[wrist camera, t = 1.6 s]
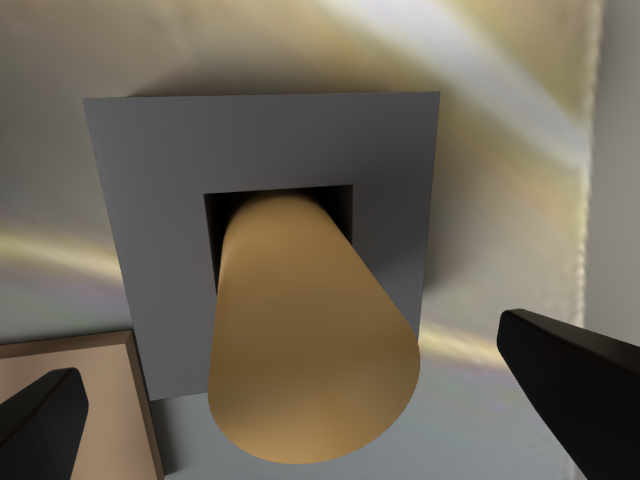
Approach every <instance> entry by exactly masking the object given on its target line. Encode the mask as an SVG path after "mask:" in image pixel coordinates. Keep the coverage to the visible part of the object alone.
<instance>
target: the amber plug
mask: <svg viewBox="0 0 640 480" xmlns="http://www.w3.org/2000/svg"><path fill="white" fill-rule="evenodd" d="M419 371H420V353H419V346H418V343H417V340H416V336H415V334H414V332H413V330H412V328H411V326H410V325H409V324H408V322H407V321H406V320H405V318H404V317H403V315H402V314H401V313H400V311H399V310H398V309H397V307H396V306H395V305H394V303H393V302H392V300H391V299H390V298H389V296H388V295H387V294H386V292H385V291H384V290H383V288H382V287H381V285H380V284H379V283H378V281H377V280H376V279H375V277H374V276H373V275H372V273H371V272H370V270H369V269H368V268H367V266H366V265H365V264H364V262H363V261H362V260H361V258H360V257H359V256H358V254H357V253H356V251H355V250H354V249H353V247H352V246H351V245H350V243H349V242H348V241H347V239H346V238H345V236H344V235H343V234H342V232H341V231H340V230H339V228H338V227H337V226H336V224H335V223H334V221H333V220H332V219H331V217H330V216H329V215H328V213H327V212H326V211H325V209H324V208H323V206H322V205H321V204H320V202H319V201H318V200H317V198H316V197H315V196H314V194H313V193H312V192H311V190H310V189H309V188H308V187H303V188H287V189H271V190H255V191H239V192H235V193H234V195H233V196H232V198H231V200H230V202H229V204H228V207H227V212H226V220H225V229H224V239H223V248H222V257H221V267H220V276H219V285H218V294H217V304H216V313H215V322H214V332H213V341H212V350H211V359H210V369H209V378H208V388H207V390H208V402H209V406H210V410H211V413H212V415H213V418H214V420H215V422H216V424H217V425H218V427H219V428H220V430H221V431H222V433H223V434H224V435H225V436H226V437H227V438H228V439H229V440H230V441H231V442H232V443H234V444H235V445H236V446H237V447H239V448H240V449H242V450H244V451H245V452H247V453H249V454H251V455H254V456H256V457H258V458H261V459H265V460H268V461H272V462H278V463H286V464H309V463H316V462H322V461H326V460H331V459H334V458H337V457H340V456H343V455H346V454H348V453H351V452H353V451H355V450H357V449H359V448H361V447H363V446H364V445H366V444H368V443H370V442H371V441H372V440H374V439H375V438H377V437H378V436H380V435H381V434H382V433H383V432H384V431H385V430H387V429H388V428H389V427H390V426H391V425H392V424H393V423H394V422H395V421H396V420H397V418H398V417H399V416H400V415H401V413H402V412H403V411H404V409H405V408H406V406H407V404H408V403H409V401H410V399H411V397H412V395H413V393H414V390H415V388H416V384H417V381H418V377H419Z"/></svg>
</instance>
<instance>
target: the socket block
mask: <svg viewBox="0 0 640 480" xmlns="http://www.w3.org/2000/svg"><path fill="white" fill-rule="evenodd" d="M439 99H440V92H366V93H314V94H262V95H210V96H158V97H114V98H86V99H82V100H83V104H84V108H85V113H86V117H87V122H88V126H89V131H90V135H91V140H92V144H93V149H94V153H95V157H96V162H97V166H98V171H99V175H100V180H101V184H102V189H103V193H104V197H105V202H106V206H107V211H108V215H109V220H110V224H111V229H112V233H113V238H114V242H115V246H116V251H117V255H118V260H119V264H120V269H121V273H122V278H123V282H124V287H125V291H126V295H127V300H128V304H129V309H130V313H131V318H132V322H133V327H134V331H135V335H136V340H137V344H138V349H139V353H140V358H141V362H142V367H143V371H144V376H145V380H146V384H147V389H148V393H149V398H150V401H152V400H159V399H166V398H173V397H179V396H186V395H193V394H199V393H206V392H208V390H207V388H208V378H209V369H210V359H211V350H212V341H213V332H214V322H215V313H216V304H217V294H218V285H219V276H220V267H221V257H222V250H221V241H220V233H219V224H218V216H217V208H216V199H215V193H223V192H239V191H255V190H271V189H287V188H303V187H319V186H327V213H328V215H329V216H330V217H331V219H332V220H333V221H334V223H335V224H336V226H337V227H338V228H339V230H340V231H341V232H342V234H343V235H344V236H345V238H346V239H347V241H348V242H349V243H350V245H351V246H352V247H353V249H354V250H355V251H356V253H357V254H358V256H359V257H360V258H361V260H362V261H363V262H364V264H365V265H366V266H367V268H368V269H369V270H370V272H371V273H372V275H373V276H374V277H375V279H376V280H377V281H378V283H379V284H380V285H381V287H382V288H383V290H384V291H385V292H386V294H387V295H388V296H389V298H390V299H391V300H392V302H393V303H394V305H395V306H396V307H397V309H398V310H399V311H400V313H401V314H402V315H403V317H404V318H405V320H406V321H407V322H408V324H409V325H410V326H411V328H412V330H413V332H414V334H415V336H416V340H417V343H418V336H419V325H420V313H421V302H422V291H423V280H424V268H425V257H426V246H427V235H428V223H429V212H430V201H431V189H432V178H433V167H434V156H435V144H436V133H437V122H438V111H439Z"/></svg>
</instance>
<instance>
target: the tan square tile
mask: <svg viewBox="0 0 640 480" xmlns="http://www.w3.org/2000/svg"><path fill="white" fill-rule="evenodd" d="M69 367H75V368H77V369H78V370H79V372H80V374H81V377H82V381H83V384H84V387H85V391H86V394H87V397H88V402H89V410H88V416H87V419H86V423H85V427H84V431H83V434H82V438H81V442H80V446H79V449H78V453H77V457H76V461H75V464H74V468H73V472H72V476H71V479H70V480H164V478H165V476H164V472H163V467H162V463H161V458H160V454H159V450H158V445H157V441H156V437H155V432H154V428H153V423H152V419H151V415H150V410H149V406H148V401H147V397H146V393H145V388H144V384H143V379H142V375H141V371H140V366H139V362H138V358H137V353H136V349H135V344H134V340H133V336H132V331H131V330H128V331H119V332H111V333H102V334H94V335H85V336H77V337H68V338H60V339H51V340H43V341H34V342H26V343H17V344H9V345H0V404H1V403H2V402H4V401H5V400H7V399H9V398H10V397H12V396H13V395H15V394H16V393H18V392H19V391H21V390H22V389H24V388H25V387H27V386H28V385H30V384H31V383H33V382H34V381H36V380H37V379H39V378H40V377H42V376H43V375H45V374H46V373H48V372H49V371H51V370H54V369H61V368H69Z"/></svg>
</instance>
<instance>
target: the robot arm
mask: <svg viewBox="0 0 640 480" xmlns="http://www.w3.org/2000/svg"><path fill="white" fill-rule="evenodd" d="M497 348H498V350H499V352H500V354H501V356H502V357H503V359H504V360H505V362H506V364H507V365H508V367H509V369H510V370H511V372H512V373H513V375H514V377H515V378H516V380H517V381H518V383H519V385H520V386H521V388H522V390H523V391H524V393H525V394H526V396H527V398H528V399H529V401H530V402H531V404H532V405H533V407H534V408H535V410H536V411H537V413H538V414H539V415H540V417H541V418H542V420H543V421H544V422H545V424H546V425H547V426H548V428H549V429H550V430H551V432H552V433H553V434H554V436H555V437H556V438H557V440H558V441H559V442H560V444H561V445H562V446H563V448H564V449H565V450H566V452H567V453H568V454H569V456H570V457H571V458H572V460H573V461H574V462H575V464H576V465H577V466H578V468H579V469H580V470H581V471H582V473H583V474H584V475H585V477H586V478H587V479H588V480H640V347H638V346H635V345H632V344H629V343H626V342H623V341H620V340H617V339H613V338H610V337H608V336H604V335H601V334H598V333H595V332H592V331H589V330H586V329H583V328H580V327H577V326H574V325H571V324H568V323H565V322H561V321H558V320H555V319H552V318H549V317H546V316H543V315H540V314H537V313H534V312H531V311H528V310H525V309H512V310H505V311H504V312H503V313H502V314H501V317H500V323H499V329H498V334H497ZM88 410H89V402H88V397H87V394H86V391H85V387H84V384H83V381H82V377H81V374H80V372H79V370H78V369H77V368H75V367H69V368H61V369H54V370H51V371H49V372H48V373H46V374H45V375H43V376H42V377H40V378H39V379H37V380H36V381H34V382H33V383H31V384H30V385H28V386H27V387H25V388H24V389H22V390H21V391H19V392H18V393H16V394H15V395H13V396H12V397H10V398H9V399H7V400H5V401H4V402H2V403H1V404H0V480H70V479H71V476H72V472H73V468H74V464H75V461H76V457H77V453H78V449H79V446H80V442H81V438H82V434H83V431H84V427H85V423H86V419H87V416H88Z"/></svg>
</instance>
